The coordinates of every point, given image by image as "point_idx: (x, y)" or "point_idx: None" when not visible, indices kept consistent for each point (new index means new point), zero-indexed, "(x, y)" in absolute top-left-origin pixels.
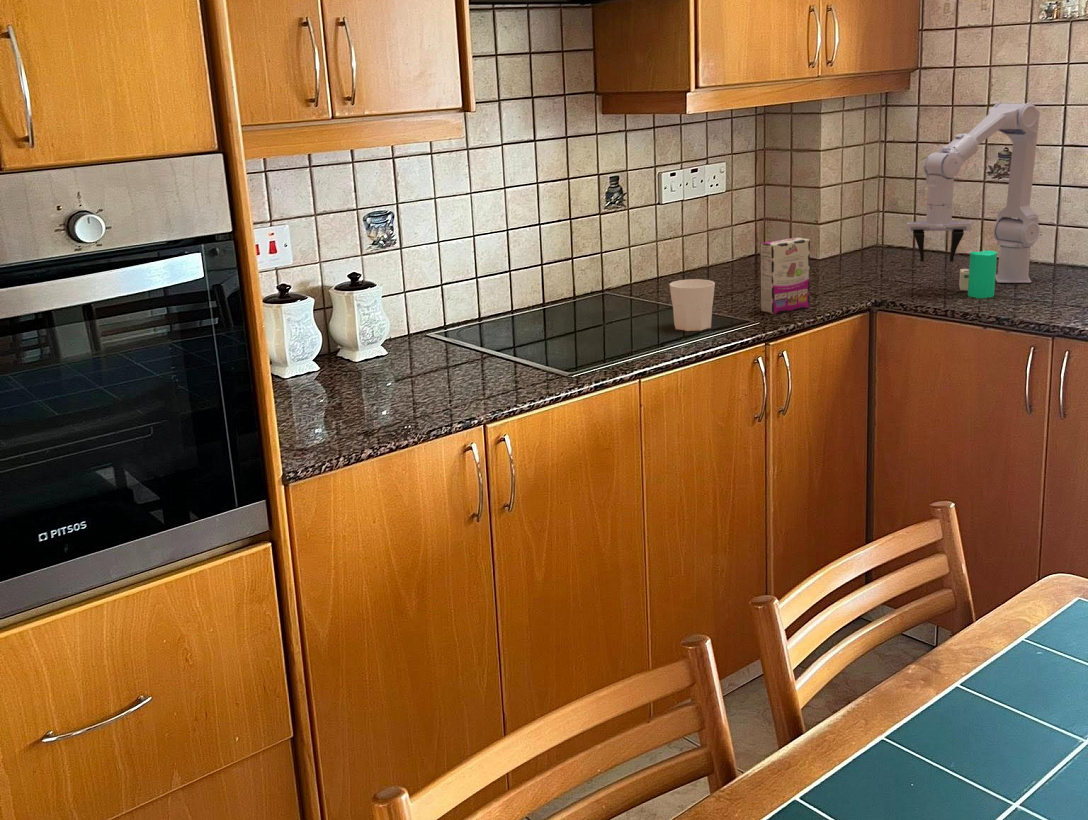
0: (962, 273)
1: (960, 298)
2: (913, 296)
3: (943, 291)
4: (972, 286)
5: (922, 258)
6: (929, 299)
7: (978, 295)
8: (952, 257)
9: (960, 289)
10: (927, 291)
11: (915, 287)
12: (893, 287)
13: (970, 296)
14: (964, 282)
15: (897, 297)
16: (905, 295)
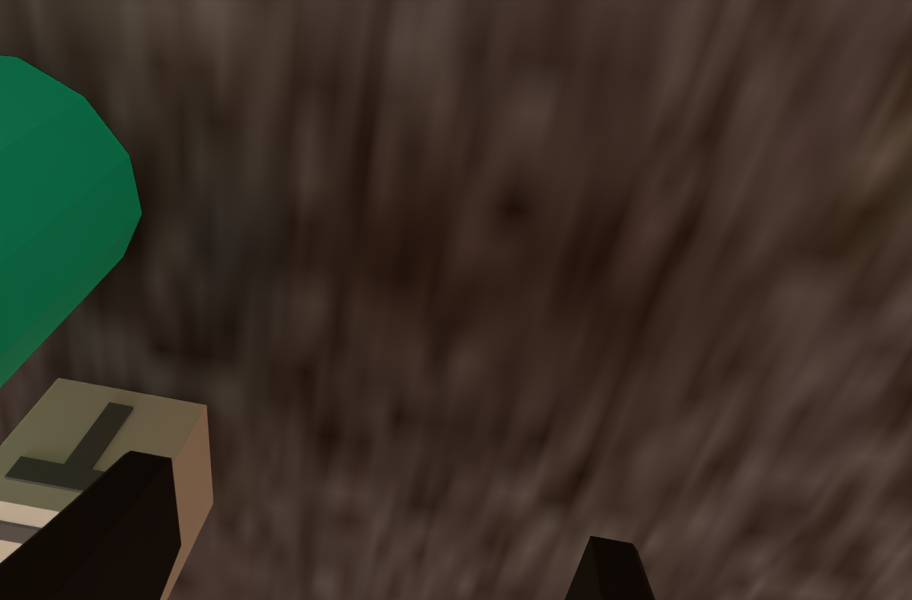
0: None
1: (207, 78)
2: (663, 237)
3: (343, 381)
4: (30, 162)
5: (621, 579)
6: (541, 68)
7: (12, 75)
8: (97, 498)
9: (203, 407)
10: (474, 401)
11: (533, 527)
12: (700, 554)
13: (108, 133)
14: (149, 446)
15: (848, 215)
16: (724, 289)
